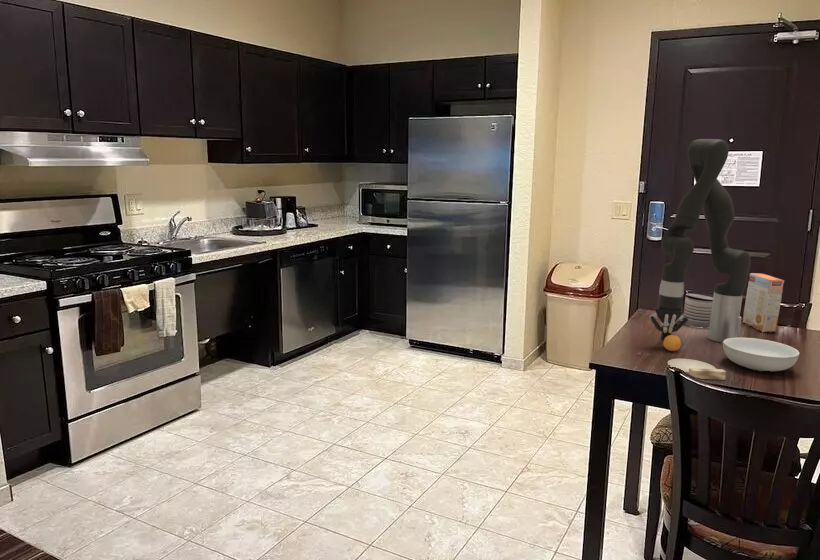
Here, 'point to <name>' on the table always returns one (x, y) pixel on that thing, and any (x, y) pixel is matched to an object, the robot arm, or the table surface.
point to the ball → (672, 343)
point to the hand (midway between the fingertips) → (664, 342)
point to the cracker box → (763, 301)
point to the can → (698, 310)
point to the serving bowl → (760, 354)
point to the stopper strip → (708, 373)
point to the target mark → (689, 364)
